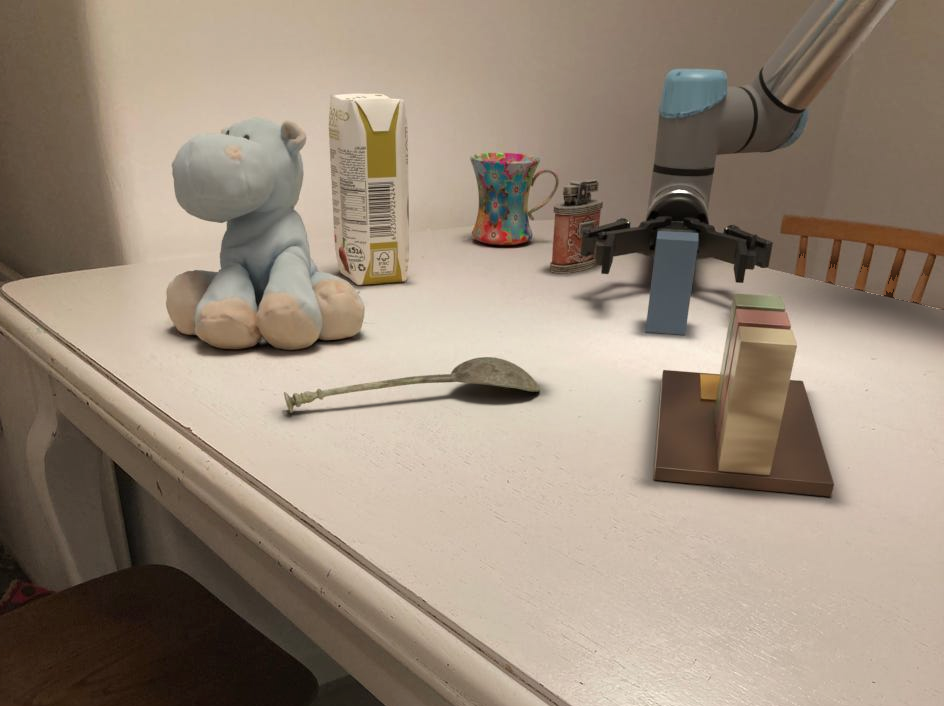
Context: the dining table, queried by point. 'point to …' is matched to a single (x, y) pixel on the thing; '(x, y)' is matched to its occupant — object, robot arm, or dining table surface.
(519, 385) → the soupspoon
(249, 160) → the hippo plush
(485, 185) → the mug
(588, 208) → the lighter
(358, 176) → the juice carton
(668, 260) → the blue block
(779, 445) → the block row
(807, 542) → the dining table surface
